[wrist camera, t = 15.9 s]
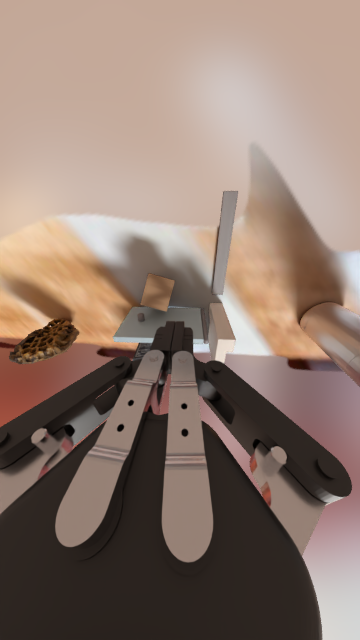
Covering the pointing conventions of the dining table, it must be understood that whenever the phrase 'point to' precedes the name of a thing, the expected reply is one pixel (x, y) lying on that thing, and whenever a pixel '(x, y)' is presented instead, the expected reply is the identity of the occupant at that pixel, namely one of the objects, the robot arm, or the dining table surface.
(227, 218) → the door frame
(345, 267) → the dining table surface
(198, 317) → the door
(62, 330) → the brown wasp nest
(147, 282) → the block
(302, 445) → the robot arm
